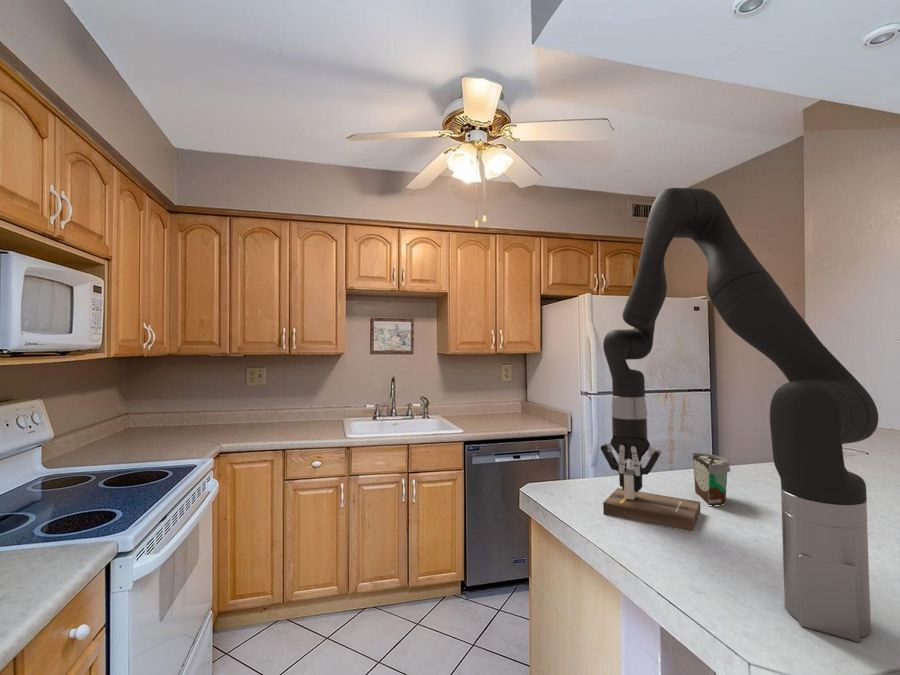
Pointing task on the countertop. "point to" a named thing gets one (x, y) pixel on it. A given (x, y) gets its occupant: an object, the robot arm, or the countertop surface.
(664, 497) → the fader console
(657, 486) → the countertop surface
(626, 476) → the fader tab
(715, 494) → the food container
